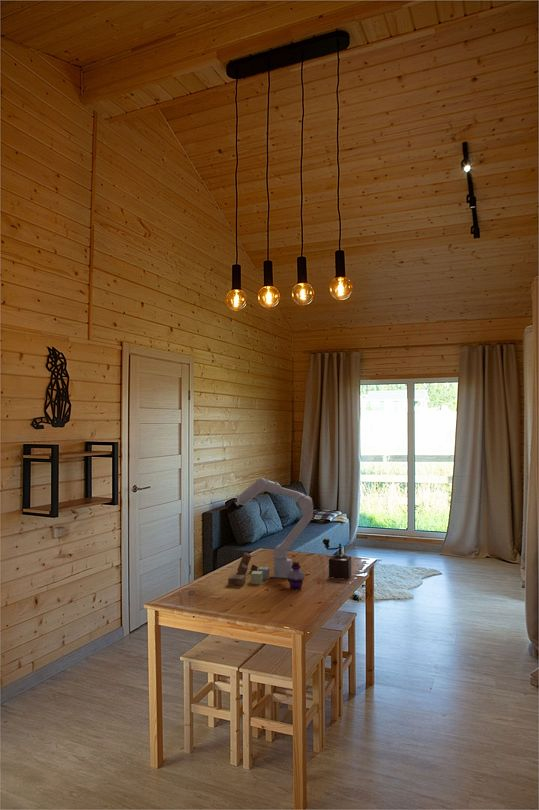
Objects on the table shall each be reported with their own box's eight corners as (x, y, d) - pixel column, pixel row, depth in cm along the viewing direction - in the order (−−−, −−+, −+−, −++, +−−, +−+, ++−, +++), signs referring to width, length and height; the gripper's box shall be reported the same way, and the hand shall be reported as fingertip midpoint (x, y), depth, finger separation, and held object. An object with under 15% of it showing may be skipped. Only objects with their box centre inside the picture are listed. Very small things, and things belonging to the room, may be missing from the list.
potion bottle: (286, 585, 261) (286, 560, 262) (304, 585, 261) (304, 560, 262) (287, 590, 252) (287, 564, 253) (305, 590, 252) (305, 564, 253)
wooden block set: (243, 584, 272) (251, 566, 270) (229, 575, 274) (236, 557, 273) (256, 573, 289) (263, 556, 287) (242, 566, 291) (249, 549, 290)
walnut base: (245, 583, 265) (245, 575, 265) (242, 587, 258) (242, 578, 258) (231, 582, 266) (231, 574, 266) (228, 586, 259) (228, 578, 259)
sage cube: (262, 581, 268) (262, 571, 268) (261, 584, 263) (261, 574, 263) (252, 581, 269) (252, 570, 269) (250, 583, 264) (251, 573, 264)
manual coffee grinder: (352, 574, 282) (352, 539, 283) (348, 579, 272) (348, 543, 273) (323, 571, 287) (323, 537, 288) (318, 576, 277) (318, 541, 278)
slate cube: (269, 576, 276) (269, 567, 277) (267, 579, 271) (267, 569, 272) (259, 576, 277) (259, 566, 277) (258, 579, 272) (258, 569, 272)
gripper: (246, 487, 291) (227, 503, 292) (240, 490, 276) (220, 507, 277) (254, 497, 290) (235, 513, 291) (249, 501, 275) (229, 518, 276)
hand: (228, 511), depth 284 cm, fingers open, 7 cm apart
